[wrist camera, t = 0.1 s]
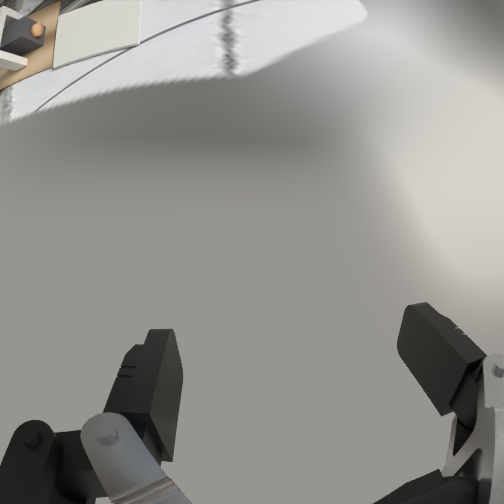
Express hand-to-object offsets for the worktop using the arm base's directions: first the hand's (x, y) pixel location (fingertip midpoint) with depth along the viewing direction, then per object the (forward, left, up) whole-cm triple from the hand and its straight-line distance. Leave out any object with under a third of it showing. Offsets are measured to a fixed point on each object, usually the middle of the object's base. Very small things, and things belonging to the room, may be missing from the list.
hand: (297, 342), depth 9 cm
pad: (-26, -19, -29) cm, 43 cm away
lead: (-28, -32, -29) cm, 51 cm away
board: (-28, -35, -29) cm, 54 cm away
